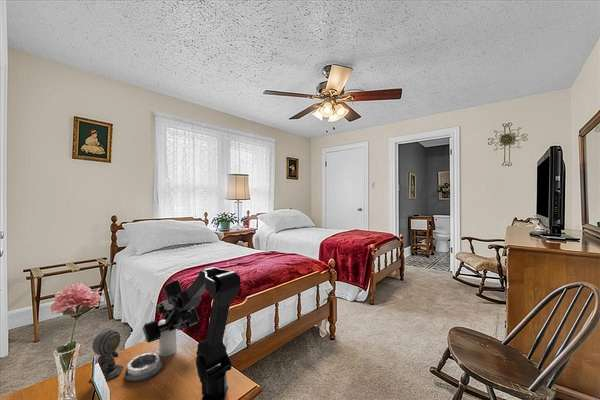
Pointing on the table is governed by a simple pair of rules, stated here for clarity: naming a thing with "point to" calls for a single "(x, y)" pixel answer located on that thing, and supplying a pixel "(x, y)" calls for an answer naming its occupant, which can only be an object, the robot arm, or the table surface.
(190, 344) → the table surface
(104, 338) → the figurine
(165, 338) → the white domed cylinder
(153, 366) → the mount
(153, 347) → the table surface
